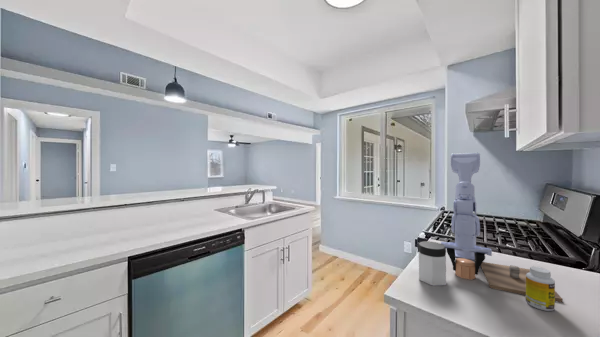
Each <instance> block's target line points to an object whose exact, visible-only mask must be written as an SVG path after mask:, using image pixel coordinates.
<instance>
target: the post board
mask: <svg viewBox="0 0 600 337" xmlns="http://www.w3.org/2000/svg"><path fill="white" fill-rule="evenodd" d="M480 267H481V270H482V272H483V275H484V277H485V279H486V281H487V282H486V283H488V286H489V288H490V289H493V290H494V289H495V290H498V291H504V292H509V293H514V294H518V295H523V296H526V274H527V273H529V272H530V268H523V267H520V266H517V265H512V264H511V265H505V264H499V263H492V262H486V261H483V262H482V264H481V266H480ZM563 301H564V300H563V298H562V297H561V295H559V293H558V292H557V291H556V290H555V302H557V303H558V302H559V303H563Z"/></svg>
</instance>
